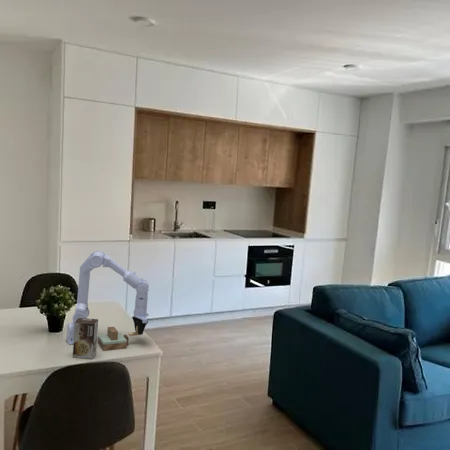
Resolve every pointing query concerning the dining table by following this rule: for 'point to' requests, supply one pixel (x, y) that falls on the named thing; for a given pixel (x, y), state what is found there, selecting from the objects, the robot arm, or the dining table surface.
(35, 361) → the dining table surface
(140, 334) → the mallet
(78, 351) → the cookie box
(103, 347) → the toolbox
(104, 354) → the dining table surface
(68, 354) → the dining table surface
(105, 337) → the toolbox lid
